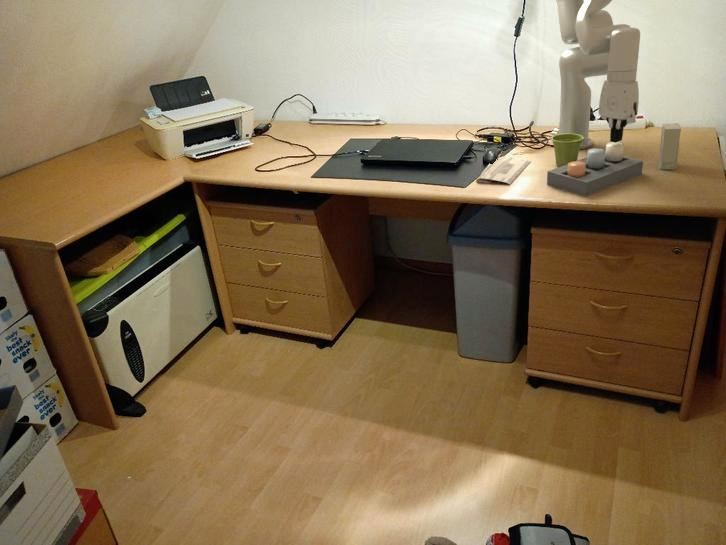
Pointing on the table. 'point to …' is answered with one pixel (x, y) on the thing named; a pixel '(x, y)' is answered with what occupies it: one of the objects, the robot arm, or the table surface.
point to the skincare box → (669, 146)
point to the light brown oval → (576, 169)
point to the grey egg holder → (595, 176)
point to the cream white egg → (614, 151)
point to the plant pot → (566, 148)
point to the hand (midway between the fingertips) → (615, 141)
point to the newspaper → (503, 170)
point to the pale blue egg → (596, 158)
